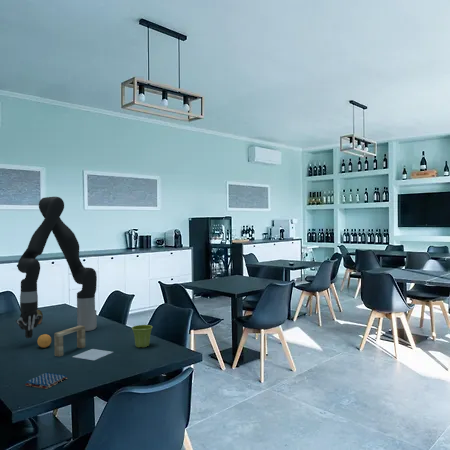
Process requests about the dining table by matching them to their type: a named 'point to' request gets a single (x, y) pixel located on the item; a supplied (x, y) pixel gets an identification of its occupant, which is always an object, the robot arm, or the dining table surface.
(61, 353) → the bridge
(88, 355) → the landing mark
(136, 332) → the plant pot
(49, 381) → the woven mat
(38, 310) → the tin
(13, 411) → the dining table surface
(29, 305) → the robot arm
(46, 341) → the ball
